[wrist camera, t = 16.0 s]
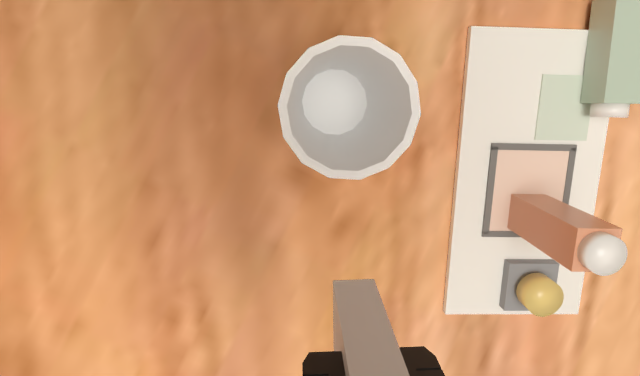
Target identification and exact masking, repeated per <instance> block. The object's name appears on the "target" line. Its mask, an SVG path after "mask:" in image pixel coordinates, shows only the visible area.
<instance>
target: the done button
mask: <svg viewBox="0 0 640 376" xmlns="http://www.w3.org/2000/svg"><path fill="white" fill-rule="evenodd" d="M516 295H517V298H518V300H519V301H520V302H521V303H522V304H523V305H524V306H525V307H526V308H527V309H528V310H529V311H530V312H531V313H532V314H534V315H536V316H540V317H545V316H549V315H552V314H554V313H555V312H556V311H557V310H558V309H559V308H560V307H561V305H562V303H563V299H564V294H563V290H562V289H561V287H560V286H559V285H558V284H556V283H555V282H554V281H553V280H551V279H550V278H549V277H547V276H546V275H544V274H542V273H531V274H528V275H526V276H525V277H524V278H522V279H521V281H520V282H519V284H518V286H517V289H516Z"/></svg>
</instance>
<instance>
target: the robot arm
mask: <svg viewBox="0 0 640 376" xmlns="http://www.w3.org/2000/svg"><path fill="white" fill-rule="evenodd" d="M333 330H334V351H332V352H309V354H308V355H307V357H306V358H305V360H304V362H303V376H445V375H444V373H443V371H442V370H441V367H440V365H439V363H438V361H437V358H436V356H435V355H433V354H432V353H431V352H430V351H429V350H427V349H426V348H425V347H424V346H423V347H399V346H398V343H397V340H396V338H395V335H394V332H393V329H392V327H391V324H390V321H389V319H388V316H387V313H386V310H385V308H384V305H383V302H382V300H381V297H380V294H379V292H378V289H377V286H376V283H375V281H374V279H362V280H334V281H333Z"/></svg>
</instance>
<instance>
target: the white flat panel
mask: <svg viewBox="0 0 640 376" xmlns="http://www.w3.org/2000/svg"><path fill="white" fill-rule="evenodd" d="M588 31H589V30H576V29H546V28H516V27H487V26H470V27H468V36H467V47H466V58H465V69H464V81H463V92H462V103H461V114H460V125H459V136H458V148H457V159H456V170H455V181H454V192H453V203H452V214H451V226H450V237H449V248H448V259H447V270H446V281H445V293H444V304H443V311H444V313H445V314H532V313H531V312H530V311H529V310H528V309H527V308H526V307H525V306H524V305H523V304H522V303H521V302H520V301H519V300H518V298H517V295H516V289H517V286H518V284H519V282H520V281H521V279H522V278H524V277H525V276H526V275H528V274H531V273H542V274H544V275H546V276H547V277H549V278H550V279H551V280H553V281H554V282H555V283H556V284H558V285H559V286H560V287H561V289H562V290H563V294H564V299H563V303H562V305H561V307H560V308H559V309H558V310H557V311H556V312H555V313H554V314H578V311H579V305H580V299H581V292H582V286H583V280H584V273H585V272H571V271H570V270H568V269H567V268H565V267H564V266H562V265H561V264H559V263H558V262H557V261H555V260H554V259H552V258H551V257H549V256H548V255H546V254H545V253H543V252H542V251H541V250H539V249H538V248H536V247H535V246H533V245H532V244H530V243H529V242H527V241H526V240H525V239H523V238H522V237H520V236H519V235H517V234H516V233H514V232H513V231H511V230H510V229H508V228H507V225H508V217H509V208H510V200H511V194H546V195H548V196H550V197H553V198H555V199H557V200H559V201H561V202H564V203H566V204H568V205H570V206H573V207H575V208H577V209H579V210H582V211H584V212H586V213H588V214H591V215H593V216H594V210H595V204H596V197H597V191H598V185H599V179H600V172H601V166H602V160H603V153H604V147H605V141H606V134H607V128H608V122H609V117H589V115H590V106H591V103H580V102H581V93H582V84H583V75H584V66H585V57H586V49H587V40H588Z"/></svg>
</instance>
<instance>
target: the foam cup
mask: <svg viewBox="0 0 640 376" xmlns="http://www.w3.org/2000/svg"><path fill="white" fill-rule="evenodd" d="M278 111H279V116H280V122H281V127H282V133H283V138H284V139H285V140H286V142H287V143H288V145H289V146H290V147H291V149H292V150H293V152H294V153H295V154H296V156H297V157H298V159H299V160H300V161H301V163H303V164H304V165H306V166H308V167H310V168H312V169H314V170H315V171H317V172H319V173H321V174H323V175H325V176H326V177H328V178H338V179H357V180H361V179H363V178H365V177H368V176H370V175H373V174H375V173H378V172H380V171H383V170H385V169H388V168H389V167H390V166H391V165H392V164H393V163H394V162H395V161H396V160H397V159H398V158H399V157H400V156H401V155H402V154H403V153H404V151H405V150H406V149H407V148H408V147H409V146H410V145H411V143H412V140H413V137H414V134H415V131H416V128H417V125H418V122H419V119H420V116H421V110H420V101H419V92H418V83H417V81H416V79H415V77H414V76H413V74H412V73H411V71H410V70H409V68H408V66H407V65H406V63H405V62H404V60H403V58H402V57H401V55H400V54H398V53H397V52H395V51H393V50H392V49H390V48H389V47H387V46H385V45H384V44H382V43H380V42H379V41H377V40H375V39H374V38H372V37H358V36H344V35H338V36H336V37H333V38H331V39H329V40H326V41H324V42H322V43H319V44H317V45H314V46H312V47H310V48H308V49H307V50H306V51H305V52H304V54H303V55H302V56H301V57H300V58H299V59H298V60H297V62H296V63H295V64H294V65H293V66H292V67H291V69H290V70H289V71H288V72H287V73H286V76H285V80H284V84H283V87H282V91H281V95H280V98H279V102H278Z"/></svg>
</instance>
